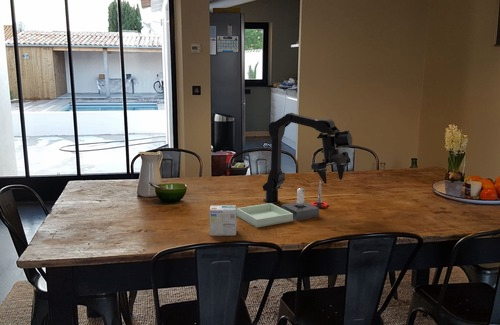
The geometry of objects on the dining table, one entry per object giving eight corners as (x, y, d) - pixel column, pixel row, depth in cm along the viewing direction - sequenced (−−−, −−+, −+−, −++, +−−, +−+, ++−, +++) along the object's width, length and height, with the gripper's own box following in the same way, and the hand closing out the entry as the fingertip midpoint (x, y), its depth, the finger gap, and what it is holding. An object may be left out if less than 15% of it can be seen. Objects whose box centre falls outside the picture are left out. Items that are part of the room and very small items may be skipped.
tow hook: (310, 203, 244) (310, 207, 235) (311, 177, 242) (311, 180, 233) (328, 204, 242) (328, 208, 233) (329, 178, 240) (329, 181, 231)
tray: (236, 215, 221) (236, 208, 220) (270, 210, 230) (270, 203, 229) (256, 227, 206) (256, 219, 205) (292, 221, 214) (292, 213, 214)
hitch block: (281, 213, 226) (281, 204, 225) (302, 209, 231) (303, 201, 231) (296, 220, 215) (296, 211, 215) (318, 216, 221) (319, 208, 220)
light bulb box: (236, 230, 203) (236, 204, 200) (236, 235, 196) (236, 209, 194) (210, 230, 202) (210, 204, 200) (209, 236, 196) (209, 209, 193)
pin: (294, 214, 224) (295, 188, 221) (300, 213, 225) (301, 187, 223) (299, 216, 221) (299, 190, 219) (304, 215, 223) (305, 189, 220)
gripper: (324, 151, 211) (329, 186, 213) (357, 144, 221) (361, 178, 223) (308, 150, 221) (312, 185, 223) (340, 144, 230) (344, 177, 232)
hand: (333, 181), depth 225 cm, fingers open, 9 cm apart
